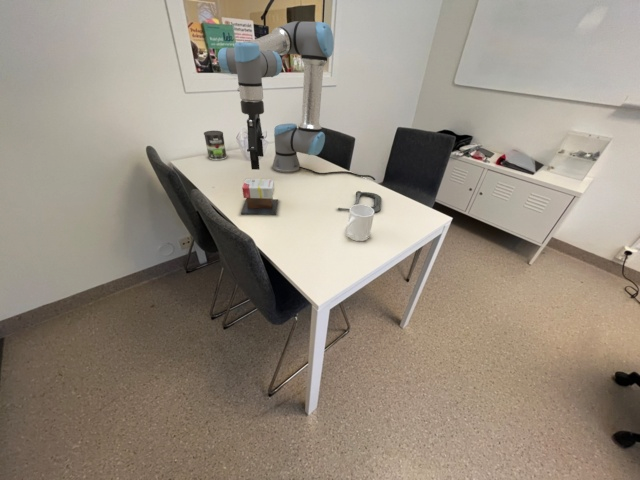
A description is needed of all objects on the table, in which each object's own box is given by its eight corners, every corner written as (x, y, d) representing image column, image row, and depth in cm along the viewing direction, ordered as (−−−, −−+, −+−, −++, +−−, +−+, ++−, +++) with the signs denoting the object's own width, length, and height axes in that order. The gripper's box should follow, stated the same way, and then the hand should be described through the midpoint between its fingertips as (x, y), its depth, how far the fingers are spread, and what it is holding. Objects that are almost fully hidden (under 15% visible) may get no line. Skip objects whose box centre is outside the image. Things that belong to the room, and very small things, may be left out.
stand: (278, 201, 116) (277, 189, 113) (276, 215, 107) (275, 203, 103) (246, 200, 115) (244, 189, 112) (241, 214, 105) (239, 202, 102)
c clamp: (378, 218, 109) (379, 212, 107) (337, 210, 113) (338, 204, 111) (384, 198, 124) (385, 192, 123) (348, 191, 128) (349, 186, 127)
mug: (335, 237, 96) (338, 212, 90) (356, 226, 103) (360, 202, 97) (353, 248, 91) (357, 222, 85) (374, 236, 98) (379, 211, 92)
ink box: (243, 198, 105) (273, 199, 106) (241, 187, 102) (272, 188, 103) (246, 189, 112) (274, 189, 113) (245, 178, 109) (274, 179, 110)
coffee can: (228, 159, 155) (224, 134, 147) (210, 161, 151) (205, 135, 143) (225, 153, 162) (221, 129, 154) (207, 155, 158) (202, 131, 150)
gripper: (246, 93, 97) (252, 151, 110) (232, 106, 77) (242, 175, 90) (266, 94, 98) (270, 151, 110) (258, 107, 78) (264, 175, 90)
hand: (257, 162), depth 100 cm, fingers open, 13 cm apart
